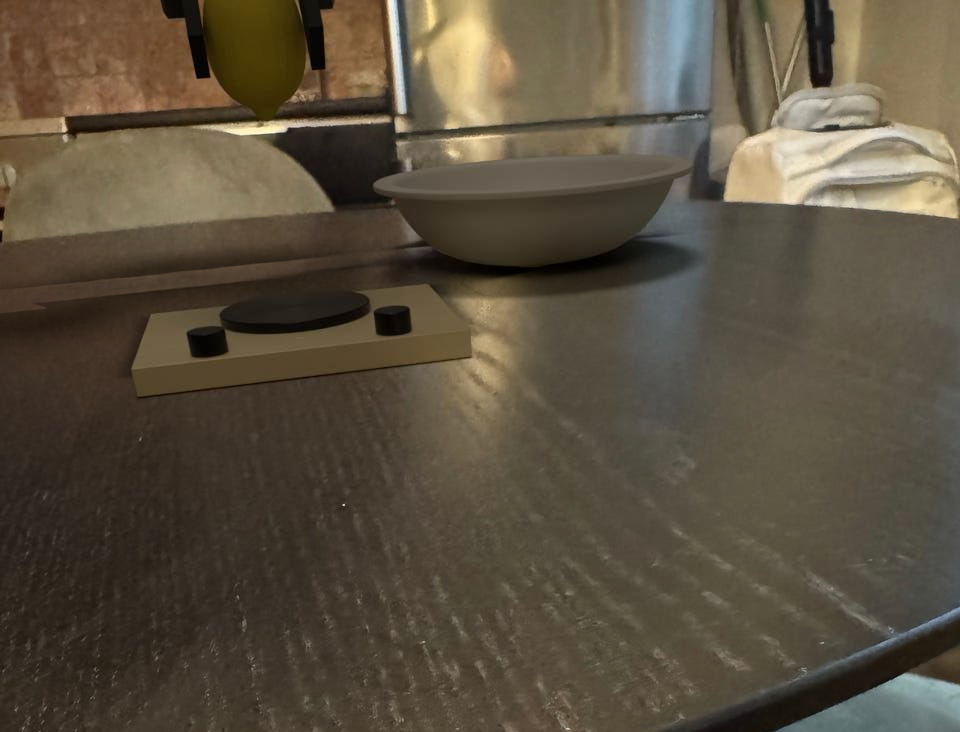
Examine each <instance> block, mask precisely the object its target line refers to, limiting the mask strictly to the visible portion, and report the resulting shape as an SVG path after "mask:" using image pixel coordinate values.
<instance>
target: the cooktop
mask: <svg viewBox="0 0 960 732" xmlns="http://www.w3.org/2000/svg"><path fill="white" fill-rule="evenodd" d="M149 315H150V316H149V318H148V321H147V324H146V326H145V330H144V332H143V335H142V338H141V341H140V344H139V346H138V349H137V352H136V354H135V358H134V360H133V362H132V365H131V368H130V371H131V375H132V379H133V384H134V387H135V391H136V395H137V397H138V398H142V397H143V398H145V397H150V396H151V397H152V396H158V395H160V396H161V395H168V394H176V393H184V392H192V391H200V390H209V389H215V388H216V389H217V388H224V387H225V388H226V387H233V386H241V385H250V384H258V383H267V382H275V381H282V380H284V381H285V380H291V379H299V378H307V377H315V376H316V377H317V376H323V375H332V374H341V373H349V372H357V371H366V370H373V369H381V368H382V369H383V368H389V367H398V366H407V365H415V364H422V363H431V362H439V361H448V360H455V359H464V358H471V357H472V356H473V351H472V349H473V348H472V335H471V329H470V328H469V327H468V326H467V325H466V323H465V322H464V321H463V320H462V319H461V318H460V317H459V316H458V315H457V313H455V311H453V310H452V308H451V307H450V306H449V305H448V304H447V303H446V301H444V300H443V298H441V296H439V294H438V293H437V292H436V291H435V290H434V289H433V288H432V287H431V285H429V284H428V283H424V284H414V285H404V286H396V287H395V286H394V287H386V288H377V289H367V290H360V291H359V290H358V291H351V290H342V289H315V290H314V289H312V290H311V289H310V290H298V291H289V292H281V293H274V294H268V295H263V296H257V297H253V298H249V299H245V300H242V301H239V302H236V303H233V304H231V305H222V306H212V307H204V308H203V307H202V308H194V309H186V310H176V311H167V312H159V313H150V314H149Z"/></svg>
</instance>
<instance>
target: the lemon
mask: <svg viewBox="0 0 960 732" xmlns="http://www.w3.org/2000/svg"><path fill="white" fill-rule="evenodd" d="M202 27H203V33H204V39H205V45H206V52H207V58H208V64H209V67H210V69H211V71H212V74H213V76H214V77H215V80H216V81H217V83H218V84H219V86H220V87H221V89H222V90H223V91H224V93H226V94H227V96H229V97H230V98H231V99H232V100H233V101H235V102H236V103H238V104H239V105H242V106H244V107H246V108H248V109H250V110H251V111H252V112H253V113H254V114H255V116H256V117H258V118H259V119H260V120H261V121H264V122H270V121H271V120H273V119H274V118H275V116H276V115H277V113H278V111H279V109H280V107H282V106H283V105H284V104H285V103H287V102H288V101H289V100H291V99H292V97H294V95H295V94H296V93H297V91H298V90H299V88H300V87H301V85H302V82H303V78H304V75H305V71H306V64H307V43H306V38H305V32H304V27H303V22H302V17H301V12H300V9H299V7H298V4H297V2H296V0H203V4H202Z"/></svg>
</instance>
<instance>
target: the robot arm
mask: <svg viewBox="0 0 960 732" xmlns="http://www.w3.org/2000/svg"><path fill="white" fill-rule="evenodd" d="M297 2H298V6H299V7H298V8H299V13H300V16H301V20H302V24H303V28H304V34H305V41H306V49H307V52H308V57H309V64H310V68H311V71H324V70H327V68H326V49H325V29H324V22H323V17H322V12H321V10H323V11H324V10H333V9H334V6H335V2H336V0H297ZM199 3H200V2H199V0H160V5H161V9H162V13H163V14H164V15H165V17H166V18H167V20H172V19H174V20H175V19H176V20H177V19H184V21H185V28H186V29H185V30H186V34H187V40H188V45H189V50H190V54H191V59H192V64H193V70H194V74H195V78H196V80H204V79H205V80H206V79H212V77H211V70H210V63H209V60H208V57H207V52H206V45H205V39H204V33H203V20H202V15H201V9H200V4H199Z"/></svg>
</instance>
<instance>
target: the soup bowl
mask: <svg viewBox="0 0 960 732" xmlns="http://www.w3.org/2000/svg"><path fill="white" fill-rule="evenodd" d="M693 170H694V164H693V162H692V161H691V160H689V159H686V158H683V157H676V156H668V155H659V154H657V155H656V154H634V153H632V154H631V153H630V154H629V153H627V154H626V153H624V154H623V153H621V154H620V153H610V154H609V153H607V154H606V153H605V154H603V153H601V154H599V153H597V154H596V153H595V154H569V155H567V154H566V155H547V156H545V155H544V156H531V157H530V156H529V157H528V156H527V157H516V158H505V159H492V160H491V159H490V160H482V161H471V162H462V163H453V164H446V165H440V166H433V167H432V166H431V167H425V168H420V169H414V170H408V171H404V172H399V173H395V174H391V175H388V176H387V175H386V176H384V177H382V178H379V179H378V180H376V181H375V182H373V184H372V185H373V186H372V189H373V192H374V193H376V194H378V195H380V196H384V197H389V198H392V199H393V202H394V204H395V206H396V208H397V209H398V211H399V213H400V215H401V217H402V218H403V219H404V220H405V222H406V223H407V224H408V226H409V227H410V228H411V229H412V231H414V233H416V234H417V236H418V237H419V238H420V239H422V240H423V241H424V242H425V243H427V244H428V245H429V246H431V247H432V248H434V249H435V250H437V251H438V252H440V253H442V254H443V255H445V256H448V257H451V258H453V259H456V260H459V261H463V262H467V263H473V264H477V265H479V264H480V265H484V266H485V265H487V266H498V267H499V266H500V267H521V268H533V267H545V266H549V265H557V264H564V263H569V262H576V261H579V260H584V259H585V260H586V259H589V258H592V257H596V256H599V255H601V254H605V253H608V252H609V251H612V250H614V249H616V248H619V247H620V246H622V245H624V244H626V243H627V242H628V241H630V240H631V239H633V238H634V237H635V236H636V235H637V234H638V233H640V232H641V231H642V230H643V229H644V228H645V227H646V226H647V225H648V224H649V223H650V222H651V221H652V219H653V218H654V217H655V215H656V214H657V213H658V212H659V210H660V208H661V207H662V205H663V204H664V202H665V200H666V198H667V196H668V195H669V193H670V190H671V188H672V186H673V183H674V180H678V179H680V178H683V177H685V176H687V175H689V174H691V173H692V172H693Z"/></svg>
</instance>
